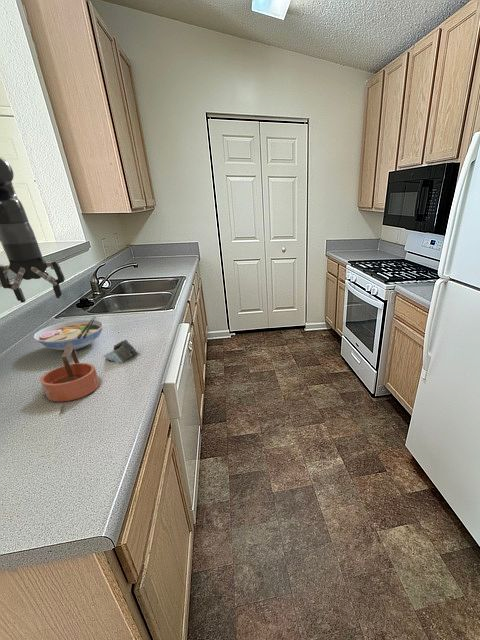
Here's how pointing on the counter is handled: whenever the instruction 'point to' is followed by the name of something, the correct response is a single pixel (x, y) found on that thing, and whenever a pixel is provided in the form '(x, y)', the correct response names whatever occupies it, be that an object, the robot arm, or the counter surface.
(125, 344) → the grey angular wedge
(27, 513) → the counter surface
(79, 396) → the bowl
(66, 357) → the brown bent ladle
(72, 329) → the ramen bowl
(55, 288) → the robot arm
